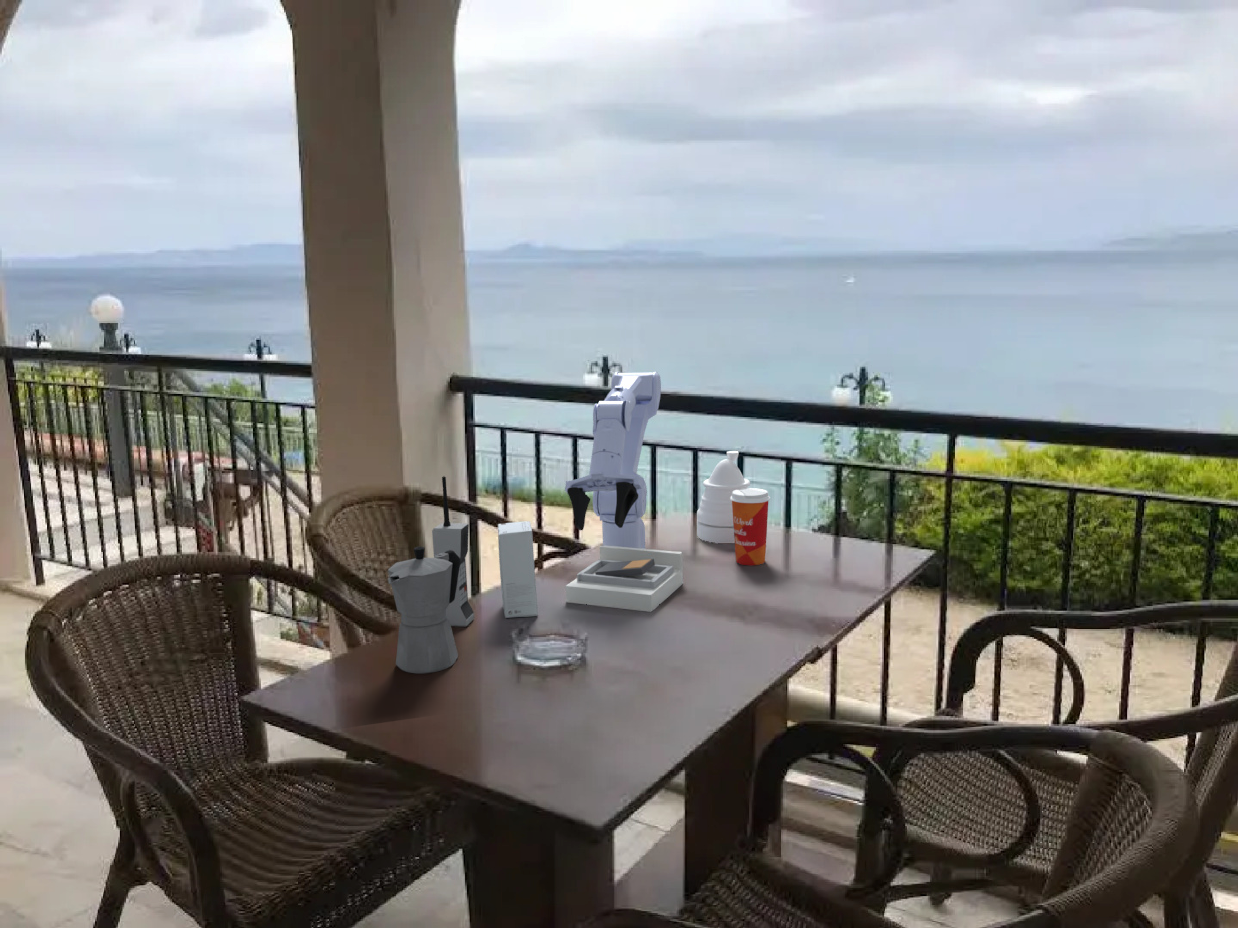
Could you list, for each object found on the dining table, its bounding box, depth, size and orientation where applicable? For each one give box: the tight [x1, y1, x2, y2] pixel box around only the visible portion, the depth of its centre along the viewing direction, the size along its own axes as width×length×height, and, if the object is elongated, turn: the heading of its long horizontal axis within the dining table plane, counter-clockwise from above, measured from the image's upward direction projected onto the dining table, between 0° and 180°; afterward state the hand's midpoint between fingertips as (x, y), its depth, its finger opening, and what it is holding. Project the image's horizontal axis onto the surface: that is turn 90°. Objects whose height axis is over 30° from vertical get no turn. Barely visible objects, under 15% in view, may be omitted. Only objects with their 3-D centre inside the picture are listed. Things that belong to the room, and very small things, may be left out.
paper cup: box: [730, 487, 771, 567], centre depth 195 cm, size 8×8×14 cm
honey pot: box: [696, 450, 751, 544], centre depth 214 cm, size 13×13×18 cm
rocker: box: [595, 559, 655, 577], centre depth 179 cm, size 6×9×1 cm, turn 67°
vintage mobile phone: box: [431, 475, 475, 628], centre depth 165 cm, size 4×5×25 cm
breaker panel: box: [565, 544, 684, 613], centre depth 180 cm, size 16×16×6 cm
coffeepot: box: [387, 545, 460, 674], centre depth 150 cm, size 15×9×18 cm, turn 150°
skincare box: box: [497, 520, 539, 619], centre depth 172 cm, size 8×6×15 cm
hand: (598, 526), depth 178 cm, fingers open, 7 cm apart
